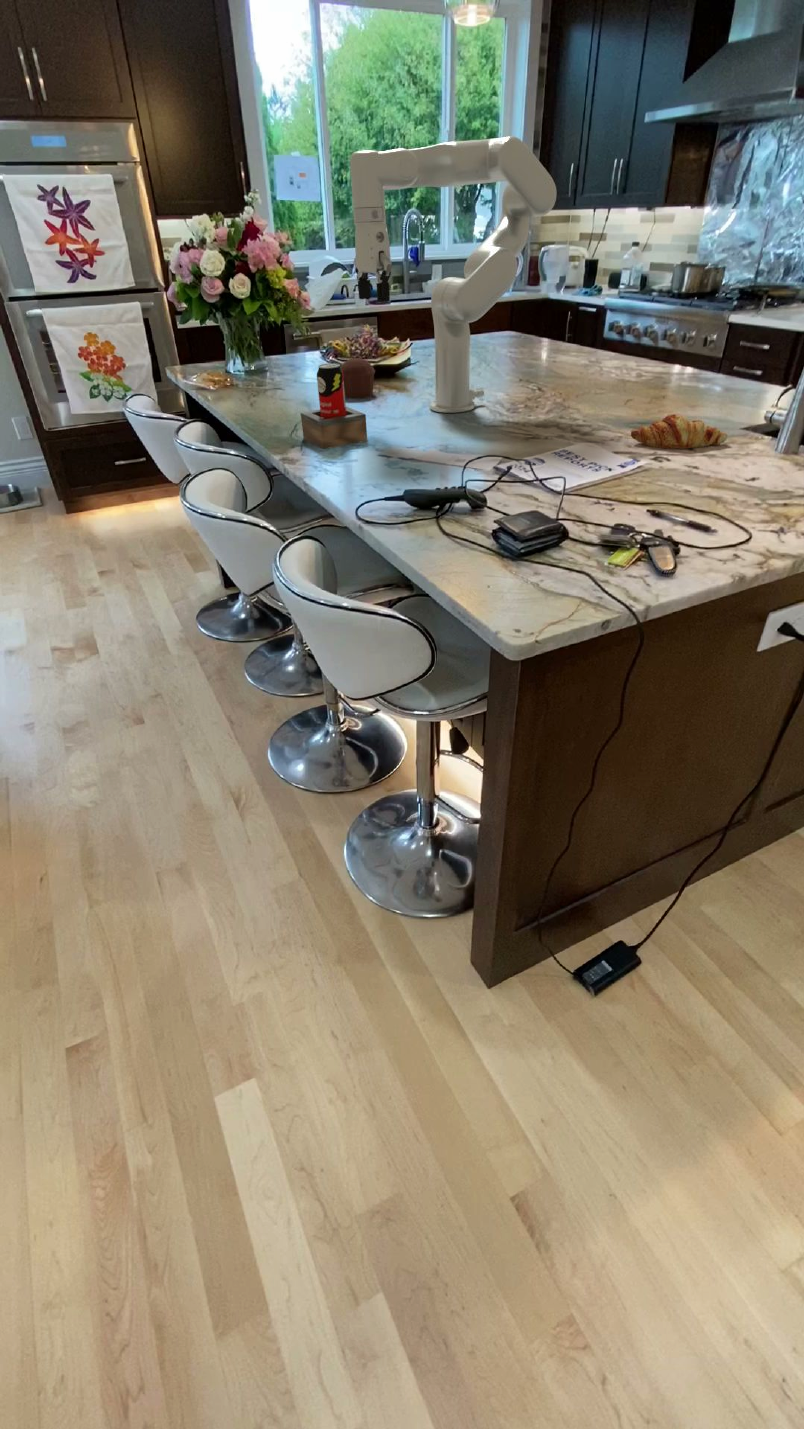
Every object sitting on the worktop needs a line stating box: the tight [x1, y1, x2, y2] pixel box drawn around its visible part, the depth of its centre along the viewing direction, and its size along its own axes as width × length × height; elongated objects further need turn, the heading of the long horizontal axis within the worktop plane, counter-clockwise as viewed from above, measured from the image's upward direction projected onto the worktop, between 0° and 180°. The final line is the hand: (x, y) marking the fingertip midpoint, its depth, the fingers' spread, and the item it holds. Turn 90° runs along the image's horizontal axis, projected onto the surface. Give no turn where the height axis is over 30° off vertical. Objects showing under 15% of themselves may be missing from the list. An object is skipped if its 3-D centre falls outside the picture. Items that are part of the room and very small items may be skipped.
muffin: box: [340, 357, 376, 399], centre depth 220 cm, size 12×11×10 cm
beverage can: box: [316, 362, 347, 419], centre depth 176 cm, size 6×6×12 cm
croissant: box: [630, 413, 728, 450], centre depth 166 cm, size 21×10×8 cm, turn 81°
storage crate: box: [300, 406, 368, 450], centre depth 180 cm, size 12×12×6 cm
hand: (374, 300), depth 181 cm, fingers open, 9 cm apart
